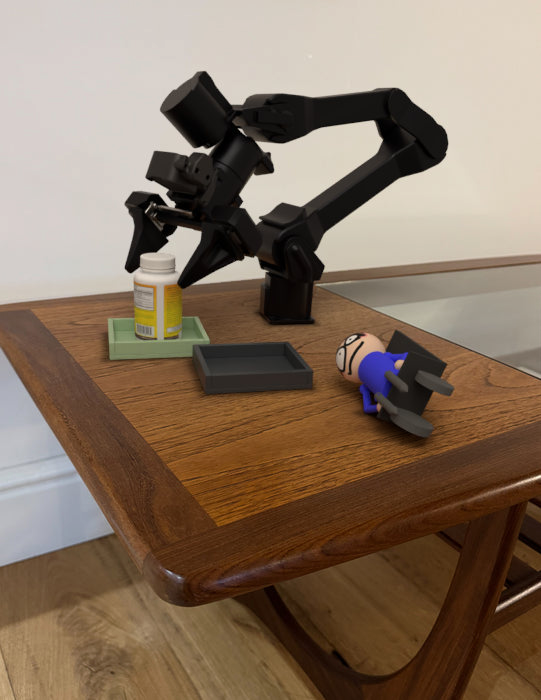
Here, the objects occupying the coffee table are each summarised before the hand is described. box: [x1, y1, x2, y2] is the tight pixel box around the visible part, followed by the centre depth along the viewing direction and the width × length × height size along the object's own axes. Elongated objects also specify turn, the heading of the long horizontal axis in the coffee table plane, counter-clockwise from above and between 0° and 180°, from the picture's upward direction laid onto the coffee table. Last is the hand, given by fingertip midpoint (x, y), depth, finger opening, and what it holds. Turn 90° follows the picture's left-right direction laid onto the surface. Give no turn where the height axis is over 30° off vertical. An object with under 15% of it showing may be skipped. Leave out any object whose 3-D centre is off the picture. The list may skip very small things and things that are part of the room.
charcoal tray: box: [191, 341, 314, 395], centre depth 66 cm, size 11×9×2 cm
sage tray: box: [107, 315, 211, 361], centre depth 74 cm, size 11×9×2 cm
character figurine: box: [335, 329, 455, 438], centre depth 58 cm, size 8×7×15 cm
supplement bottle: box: [133, 252, 183, 341], centre depth 72 cm, size 6×6×10 cm
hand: (152, 278), depth 71 cm, fingers open, 9 cm apart
